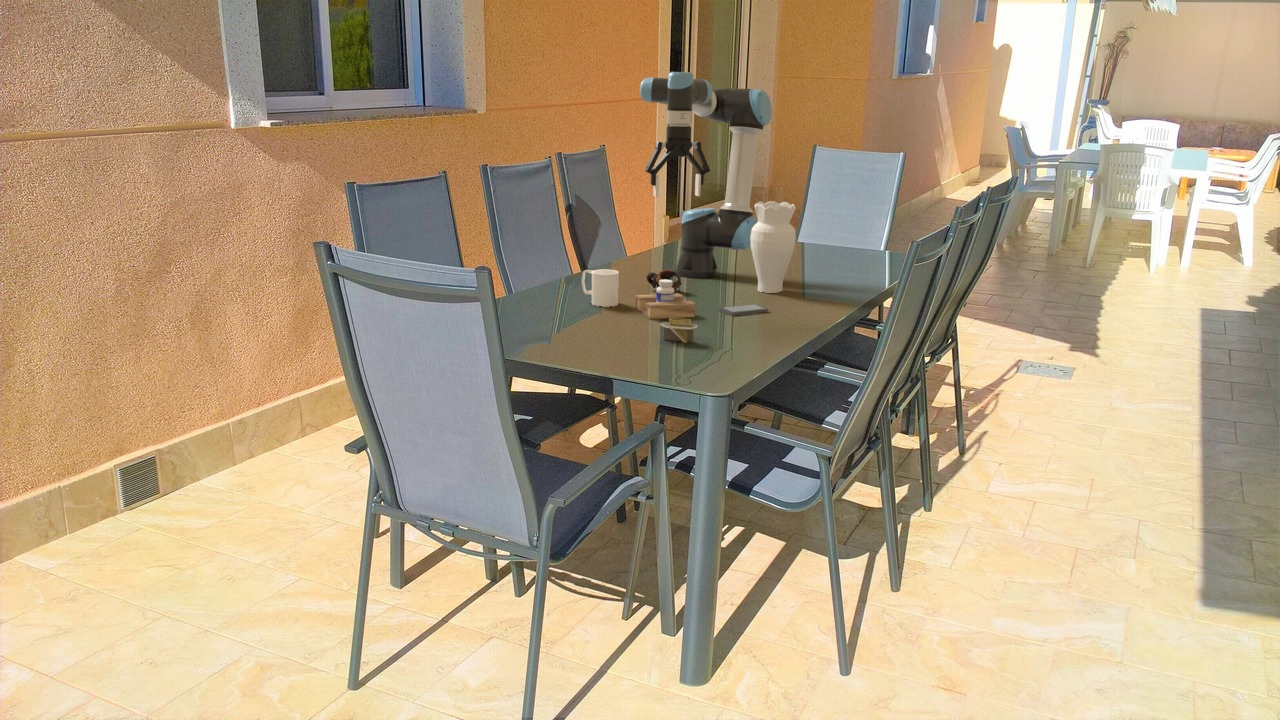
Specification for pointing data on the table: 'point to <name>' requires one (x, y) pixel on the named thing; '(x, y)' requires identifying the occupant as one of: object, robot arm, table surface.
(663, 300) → the pill bottle
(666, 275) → the pottery mug
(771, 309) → the table surface
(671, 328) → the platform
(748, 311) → the phone slab
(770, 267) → the vase
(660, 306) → the socket holder
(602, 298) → the cup
